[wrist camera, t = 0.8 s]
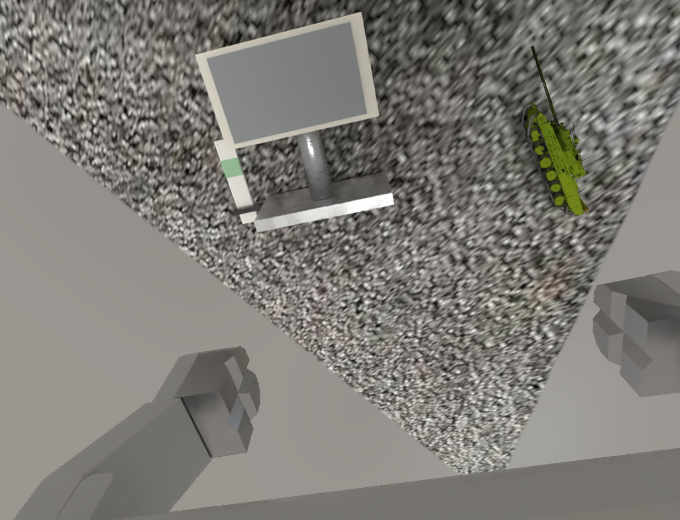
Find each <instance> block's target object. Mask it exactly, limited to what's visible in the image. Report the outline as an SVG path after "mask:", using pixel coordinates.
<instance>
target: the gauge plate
mask: <svg viewBox="0 0 680 520" xmlns="http://www.w3.org/2000/svg"><path fill="white" fill-rule="evenodd" d="M296 139H297V143H298V147H299V150H300V154H301V158H302V162H303V166H304V169H305V173H306V177H307V181H308V185H309V188H305V189H300V190H295V191H290V192H286V193H281V194H276V195H272V196H268V197H267V199H266V200H265V202H264V203H261V204H257V205H252V206H247V207H242V208H238V209H235V210H234V213H235V215H240V214H245V213H250V212H254V211H259V210H260V211H259V213H258V215H257V216H256V218H255V220H254V224H255V227H256V230H257V232H261V231H266V230H271V229H276V228H281V227H286V226H290V225H295V224H300V223H305V222H310V221H315V220H320V219H325V218H330V217H335V216H340V215H345V214H350V213H355V212H360V211H365V210H370V209H375V208H379V207H384V206H389V205H394V202H393V196H392V191H391V188H390V185H389V181H388V178H387V175H386V172H380V173H375V174H371V175H366V176H361V177H356V178H352V179H347V180H342V181H338V182H333V183H332V182H331V177H330V173H329V169H328V165H327V160H326V156H325V152H324V148H323V143H322V139H321V135H320V131H319V130H316V131H312V132H307V133H303V134H298V135H296Z"/></svg>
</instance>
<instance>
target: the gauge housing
mask: <svg viewBox="0 0 680 520" xmlns="http://www.w3.org/2000/svg"><path fill="white" fill-rule="evenodd" d="M195 56H196V59H197V62H198V65H199V68H200V71H201V74H202V77H203V80H204V83H205V86H206V89H207V92H208V95H209V98H210V101H211V103H212V106H213V109H214V112H215V115H216V118H217V121H218V124H219V127H220V130H221V133H222V136H223V139H222V140H217V141H214V143H215V146H216V149H217V152H218V155H219V158H220V160H221V164H222V167H223V170H224V173H225V176H226V178H227V180H228V183H229V186H230V189H231V192H232V195H233V197H234V200H235V203H236V206H237V209H238V208H242V207H247V206H252V205H254V202H253V199H252V196H251V193H250V190H249V187H248V184H247V181H246V178H245V175H244V172H243V169H242V166H241V163H240V160H239V157H238V154H237V151H236V149H237V148H242V147H246V146H250V145H255V144H259V143H263V142H268V141H272V140H277V139H281V138H285V137H290V136H294V135H298V134H303V133H307V132H312V131H316V130H320V129H325V128H329V127H334V126H338V125H342V124H347V123H351V122H355V121H360V120H364V119H369V118H373V117H377V116H379V112H378V106H377V101H376V95H375V89H374V83H373V77H372V71H371V65H370V60H369V54H368V48H367V42H366V36H365V30H364V24H363V19H362V13H361V12H359V13H355V14H351V15H347V16H343V17H340V18H336V19H332V20H328V21H324V22H320V23H316V24H313V25H309V26H305V27H301V28H297V29H293V30H289V31H286V32H282V33H278V34H274V35H270V36H266V37H262V38H259V39H255V40H251V41H247V42H243V43H239V44H235V45H231V46H228V47H224V48H220V49H216V50H212V51H208V52H204V53H201V54H197V55H195ZM256 216H257V211H254V212H250V213H245V214H240V217H241V220H242V223H243V224H245V223H249V222H254V220H255V218H256Z"/></svg>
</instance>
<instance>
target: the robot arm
mask: <svg viewBox="0 0 680 520" xmlns="http://www.w3.org/2000/svg"><path fill="white" fill-rule="evenodd" d="M594 303H595V304H596V305H597V306H598V307H599V308H600V311H599V312H598V313H597V315H596V316H595V317H594V318H593V333H594V337H595V340H596V344H597V346H598V347H599V349H600V351H601V353H602V354H603V355H604V356H605V357H606V358H607V360H609V361H611V362H613V363H616V364H618V365H620V366H621V371H620V374H621V376H622V377H623V378H624V379H625V380H626V381H627V382H628V384H629V385H630V386H631V387H632V388H633V389H634V391H635V392H636V393H637V394H638V395H639V396H640V397H645V396H653V395H662V394H671V393H680V272H677V271H666V272H661V273H656V274H652V275H647V276H644V277H638V278H633V279H628V280H623V281H617V282H612V283H607V284H601V285H597V286H596V289H595V291H594ZM248 362H249V358H248V355H247V353H246V351H245V349H244V348H242V347H240V346H238V347H232V348H225V349H219V350H212V351H205V352H198V353H193V354H187V355H183V356H181V357H179V358H178V360H177V362H176V363H175V365H174V367H173V368H172V370H171V371H170V373H169V375H168V377H167V378H166V380H165V381H164V383H163V385H162V386H161V388H160V390H159V391H158V393H157V395H156V396H155V398H154V400H153V401H152V402H151V403H146V404H144V405H143V406H141V407H140V408H139V409H137V410H136V411H135V412H133V413H132V414H131V415H130V416H128V417H127V418H125V419H124V420H123V421H121V422H120V423H119V424H117V425H116V426H115V427H113V428H112V429H111V430H109V431H108V432H107V433H105V434H104V435H103V436H101V437H100V438H99V439H97V440H96V441H94V442H93V443H92V444H90V445H89V446H88V447H87V448H85V449H84V450H82V451H81V452H80V453H78V454H77V455H76V456H75V457H73V458H72V459H70V460H69V461H68V462H66V463H65V464H64V465H62V466H61V467H60V468H58V469H57V470H56V471H54V472H53V473H52V474H50V475H49V476H48V477H46V478H45V479H44V480H43V481H42V482H41V483H40V485H39V486H38V487H37V489H36V490H35V491H34V493H33V494H32V495H31V497H30V498H29V499H28V501H27V502H26V503H25V505H24V506H23V507H22V509H21V510H20V511H19V513H18V514H17V515H16V517H15V518H14V519H13V520H680V448H676V449H668V450H659V451H651V452H643V453H636V454H627V455H620V456H611V457H603V458H595V459H587V460H579V461H571V462H563V463H555V464H547V465H538V466H531V467H522V468H514V469H506V470H498V471H490V472H483V473H475V474H467V475H459V476H451V477H444V478H435V479H427V480H420V481H413V482H404V483H396V484H389V485H380V486H372V487H364V488H357V489H349V490H341V491H333V492H325V493H317V494H309V495H301V496H293V497H285V498H277V499H269V500H261V501H254V502H245V503H238V504H230V505H222V506H214V507H206V508H198V509H190V510H182V511H175V512H169V511H170V510H171V509H172V507H173V506H174V505H175V504H176V503H177V501H178V500H179V499H180V498H181V497H182V495H183V494H184V493H185V492H186V491H187V489H188V488H189V487H190V486H191V484H192V483H193V482H194V481H195V480H196V478H197V477H198V476H199V475H200V473H201V472H202V471H203V470H204V468H206V466H207V465H208V464H209V463H210V461H211V458H216V457H222V456H228V455H234V454H240V453H245V452H247V450H248V446H249V443H250V439H251V435H252V432H253V426H252V424H251V422H250V420H251V419H252V418H253V417H254V416H255V415H256V414H257V413H258V410H259V405H260V389H259V384H258V381H257V378H256V375H255V374H254V373H253V372H251V371H250V370H248V369H247V366H248Z"/></svg>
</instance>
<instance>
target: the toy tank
mask: <svg viewBox="0 0 680 520" xmlns="http://www.w3.org/2000/svg"><path fill="white" fill-rule="evenodd" d="M531 49H532V52H533V55H534V58H535V61H536V64H537V67H538V70H539V73H541V74H540V77H541V76H542V77H541V80H542V79H543V80H542V83H543V86H544V85H545V86H544V89H545V88H546V89H547V86H546V83H545V80H544V77H543V74H542V71H541V68H540V64H539V61H538V58H537V55H536V52H535V49H534V46H532V47H531ZM536 58H537V59H536ZM537 61H538V62H537ZM546 89H545V92H546V91H547V92H548V89H547V90H546ZM547 92H546V95H547ZM547 98H549V99H548V101H550V102H549V105H550V104H551V105H550V108H551V111H552V114H553V117H554V121H555V120H556V122H554V121H552V120H551V123H550V121H549V122H548V121H547V119H546V117H545V116H544V115H543V114H542V113H541V112H540V111H538V108H537V107H536V106H535V105H534V104H533V103H532V102H531V103H529V104H528V105H526V106H525V108H524V110H523V117H522V124H521V126H522V128H523V131H524V133H525V131H527V132H528V134H527V136H526V133H525V136H526V138H527V141H528V143H530V144H531V145H532V144H533V145H534V144H535V145H534V146H532V149H531V151H532V153H533V156H534V159H535V157H536V158H537V157H539V158H538V159H537V160H536V159H535V162H536V164H537V167H538V169H539V168H540V169H541V170H542V169H543V170H542V171H541V172H542V173H540V175H541V177H542V180H545V181H547V182H549V183H547V182H546V184H545V183H544V185H545V187H546V190H547V191H548V192H549V193H550V195H551V194H552V195H553V198H552V195H551V198H552V201H553V203H554V205H555V206H556V207H557V208H559V209H560V210H562V211H563V212H565V213H566V214H568V215H571V216H572V215H573V214H575V215H578V214H579V215H581V214H584V212H587V213H588V211H589V209H588V208H587V206H586V205H585V204H584V202H583V201H582V200H581V198H580V196H579V193H578V191H577V190H579V188H578V185H577V183H576V180H575V178H574V177H576V178H579V177H581V176H583V175H584V174H585V171H584V168H583V166H582V163H581V161H582V160H581V158H580V157H581V156H580V155H578V154H579V153H581V148H580V150H579V151H577V150H576V147H577V146H576V145H574V144H578V141H579V138H576V137H577V136H576V134H574V136H573V138H574V142H575V143H573V141H572V138H571V136H570V134H571V133H569V130H566V129H565V128H564V127H565V126H563V125H564V122H563V123H560V124H559V122H558V119H557V116H554V115H556V113H555V110H554V107H553V105H552V102H551V99H550V95H549V92H548V96H547ZM553 112H554V113H553ZM524 114H525V115H526V116H528V117H527V119H525V120H524ZM555 118H556V119H555ZM523 120H524V122H523ZM557 122H558V123H557ZM550 124H551V125H550ZM572 124H573V123H572ZM618 125H619V124H618ZM573 127H574V125H573ZM573 130H574V129H573ZM625 130H626V129H625ZM574 131H575V130H574ZM572 133H573V131H572ZM530 144H529V146H530ZM575 146H576V147H575ZM530 148H531V146H530ZM578 152H579V153H578ZM595 155H596V154H595ZM540 156H541V157H540ZM588 158H589V157H588ZM586 159H587V158H586ZM584 160H585V159H584ZM545 169H546V170H545ZM539 172H540V170H539ZM571 174H572V175H573V177H572V176H571ZM543 182H544V181H543ZM555 194H556V195H555ZM560 205H561V206H563V207H564V210H563V209H562V208H560V207H559V206H560ZM567 210H570V211H567ZM583 210H584V212H583Z"/></svg>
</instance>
